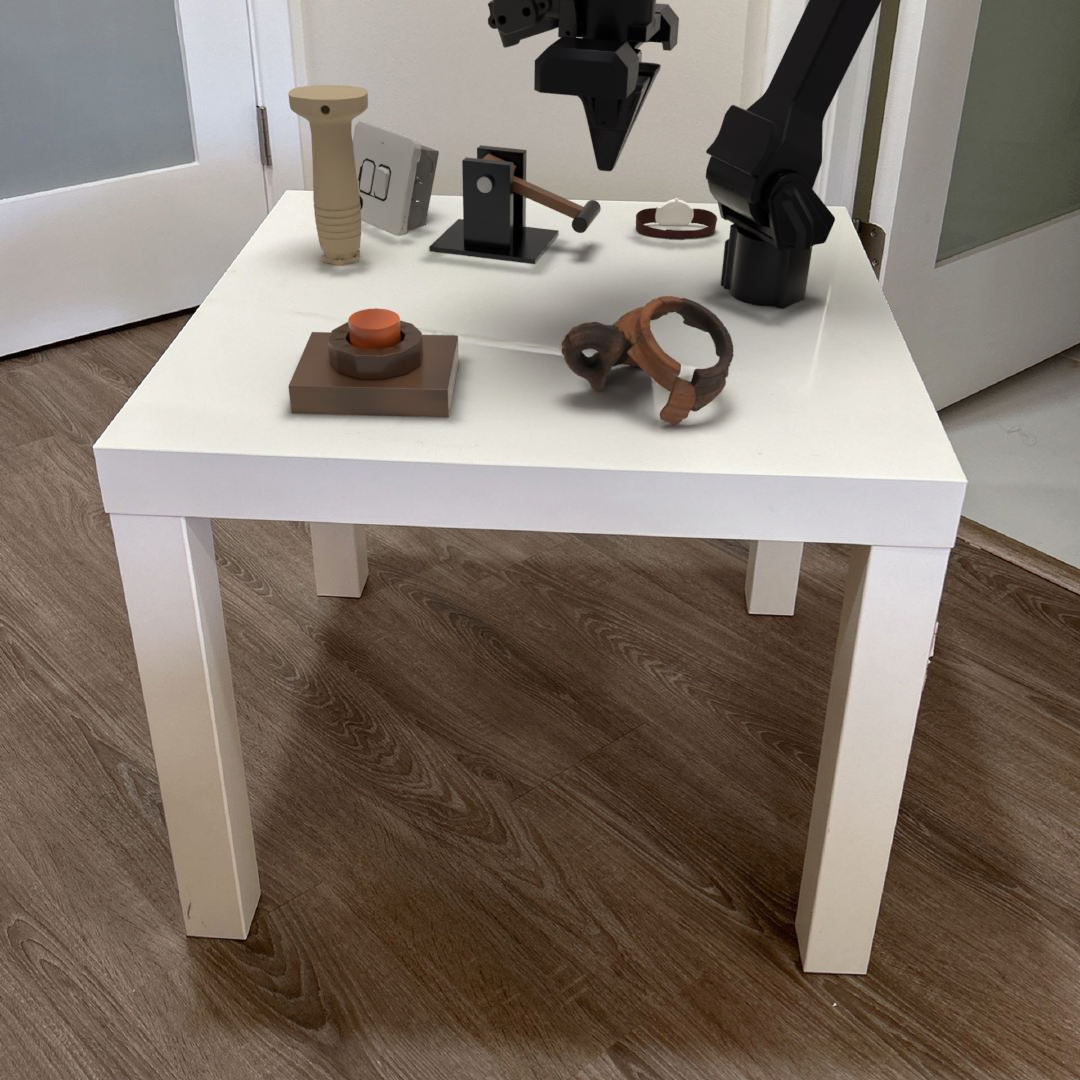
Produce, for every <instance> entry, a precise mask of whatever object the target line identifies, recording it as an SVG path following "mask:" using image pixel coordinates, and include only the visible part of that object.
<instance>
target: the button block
mask: <svg viewBox="0 0 1080 1080" xmlns="http://www.w3.org/2000/svg"><path fill="white" fill-rule="evenodd" d="M400 330H401V342H400V343H398V344H397V345H395V346H393V347H388V348H383V349H362V348H359V347H355V346H352V345H351V344H350V334H349V322H348V321H346V322H345V323H342V324H341V325H339V326H337V327H336V328H333V329H332V330H331V331H330V332H329V331H328V332H326V331H311V333H310V335H309V338H308V340H307V341H306V345H305V348H304V349H303V352H302V354H301V356H300V358H299V360H298V362H297V365H296V367H295V370H294V372H293V375H292V377H291V379H290V381H289V384H288V395H289V403H290V412H291V413H290V414H293V415H294V414H295V415H296V414H297V415H298V414H299V415H301V414H302V415H332V416H333V415H338V416H372V417H373V416H375V417H376V416H378V417H412V418H413V417H416V418H418V417H420V418H449V417H450V413H451V408H452V402H453V396H454V391H455V384H456V380H457V373H458V367H459V359H460V358H459V336H458V335H457V334H456V335H455V334H454V335H453V334H451V335H450V334H423V333H422V331H420V329H419V328H417V327H416V326H415V325H414V324H413V323H411V322H407V321H404V320H401V319H400Z"/></svg>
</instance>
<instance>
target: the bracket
mask: <svg viewBox="0 0 1080 1080" xmlns="http://www.w3.org/2000/svg"><path fill="white" fill-rule="evenodd" d="M527 152H528V151H527V149H523V148H522V149H521V148H513V147H512V148H510V147H502V146H492V145H481V144H480V145H479V146H478V147H477V148H476V157H475V158H474V157H467V156H466V157H464V159H462V160H461V168H462V171H461V172H462V214H463V217H462V218H457V220H455V222H453V223H452V224H451V225H450V226H449V227H448V228H447V229H446V230H445V231H444V232H443V233H442V234H441V235H440V236H439V237H438V238H437V239H435V241H433V243H432V244H431V245H430V246H428V251H429V252H432V253H433V252H434V253H440V254H448V255H457V256H465V257H473V258H479V259H480V258H482V259H489V260H496V261H505V262H513V263H520V264H530V265H536V264H537V262H538V261H539V260H540V259H541V257H543V255H544V254H545V253H546V251H547V250H549V248H550V246H551V245H552V244H553V243H554V242H555V240H556V239H557V238H558V237H559V235H560V231H559V229H557V230H556V229H549V228H540V227H533V226H532V227H531V226H526V225H527V198H526V197H524V196H522V195H519V194H517V193H515V192H513V165H515V166H516V169H515V172H514V176H516V177H518V178H520V179H522V180H525V181H527ZM488 154H491V155H493V156H495V157H497V158H499V159H502V160H504V161H496V160H486V159H483V158H484V157H485V156H486V155H488ZM505 161H506V162H505Z"/></svg>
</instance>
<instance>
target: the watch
mask: <svg viewBox="0 0 1080 1080" xmlns="http://www.w3.org/2000/svg"><path fill="white" fill-rule="evenodd" d="M717 222H718V217H717V215H716V214H715V213H714V212H712V211H710V210H709V209H708V210H707V209H703V208H696V207H691V206H690V204H688V202H686V201H685V200H682V199H679V197H675V198H673V199H670V200H667V201H665V202H664V203H662V204H661V205H660V206H659V207H658V206H656V207H649V208H643V209H641V210H639V211H638V212H637V213H636V214H635V232H637V233H638V234H640V235H642V236H646V237H650V238H656V239H657V238H658V239H667V240H691V239H692V240H693V239H702V238H707V237H710V236H712V235H714V234H715V231H716V227H717ZM646 224H647V225H646ZM648 224H658V225H660V226H684V227H685V226H688V225H690V224H691V225H693V224H697V225H702V226H706V227H704V228H700V229H699V228H698V229H692V230H691V229H689V230H687V229H686V230H682V229H681V230H680V229H679V230H678V229H677V230H676V229H667V228H665V229H661V228H656V227H653V226H648Z"/></svg>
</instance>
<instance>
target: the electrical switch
mask: <svg viewBox="0 0 1080 1080" xmlns="http://www.w3.org/2000/svg"><path fill="white" fill-rule="evenodd" d="M352 142H353V151H354V159H355V167H356V175H357V182H358V189H359V197H360V207H361V209H360V210H361V222H364V223H366V224H368V225H370V226H371V227H372V226H373V227H375V228H377V229H379V230H382V231H383V232H386V233H388V234H390V235H393V236H397V237H401V236H405V235H407V233H408V231H410V230H415V229H418V228H420V227H421V228H422V227H424V226H426V224H427V219H428V215H429V209H430V202H431V197H432V192H433V186H434V181H435V175H436V171H437V166H438V161H439V160H438V159H439V156H440V155H439V154H440V152H439V150H436V149H434V148H430V147H428V146H426V145H422V141H421V140H419V139H418V138H414V137H412V136H409V135H405V134H403V133H400V132H397V131H395V130H392V129H390V128H386V127H384V126H380V125H379V124H375V123H372V122H369V121H365V120H364V121H362V120H359V121H358V122H357V123H356V124H355V125H354V131H353V135H352Z"/></svg>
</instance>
